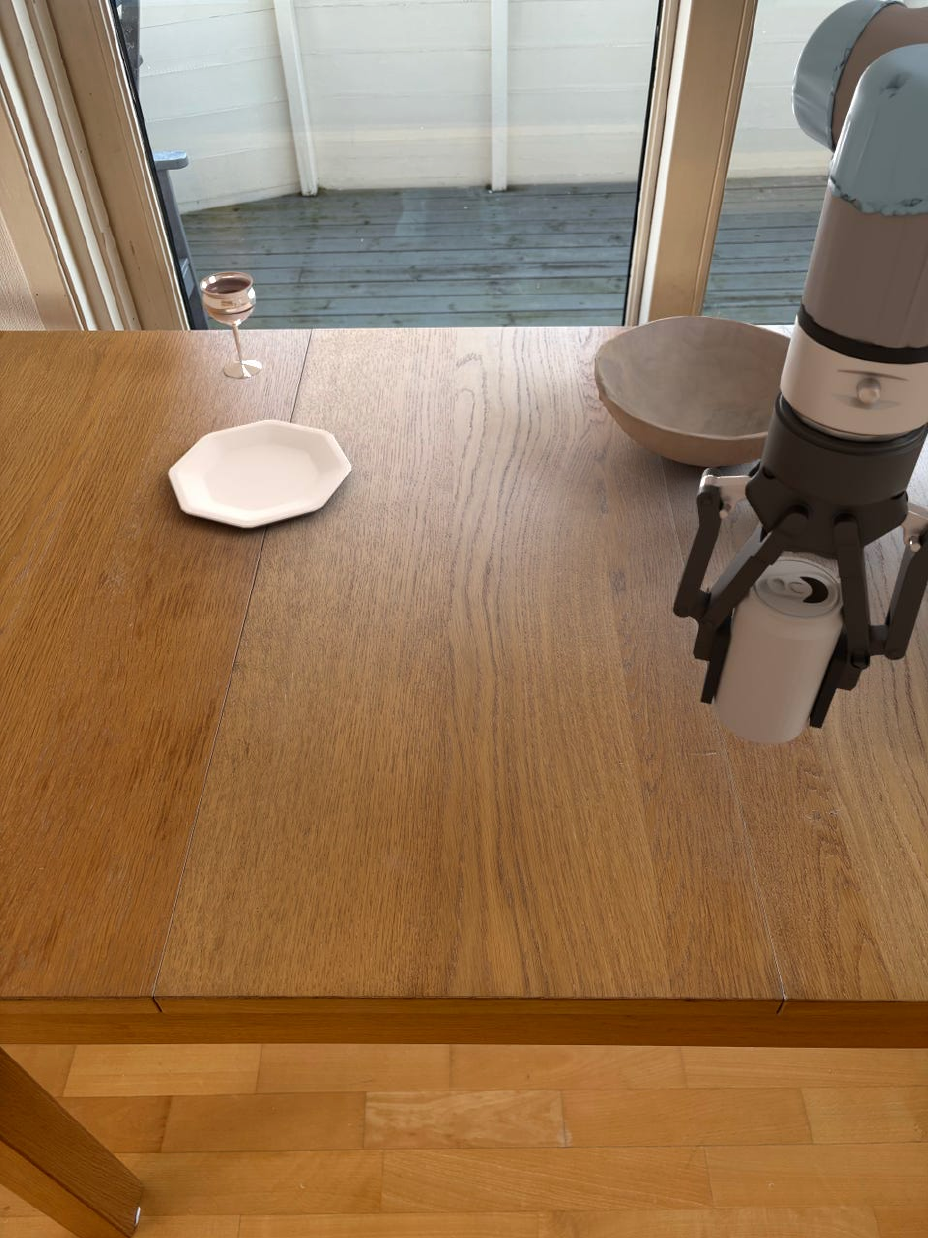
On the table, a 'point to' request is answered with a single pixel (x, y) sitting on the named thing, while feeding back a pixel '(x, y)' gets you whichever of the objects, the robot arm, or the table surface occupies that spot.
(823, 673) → the beverage can
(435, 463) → the table surface
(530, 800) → the table surface
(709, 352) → the bowl
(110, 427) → the table surface
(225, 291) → the wineglass
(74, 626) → the table surface
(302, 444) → the plate
